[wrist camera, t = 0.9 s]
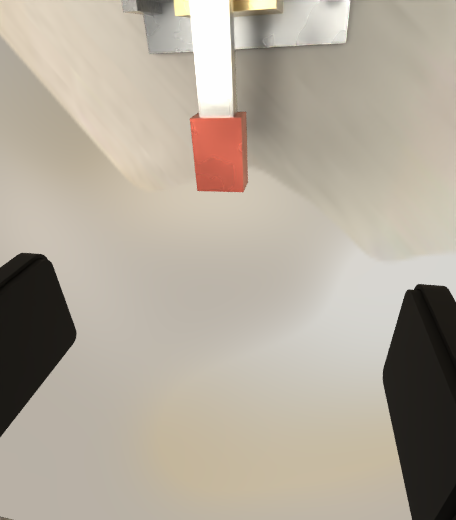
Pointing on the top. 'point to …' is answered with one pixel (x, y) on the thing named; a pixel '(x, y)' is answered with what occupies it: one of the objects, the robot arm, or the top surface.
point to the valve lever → (217, 100)
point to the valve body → (247, 23)
